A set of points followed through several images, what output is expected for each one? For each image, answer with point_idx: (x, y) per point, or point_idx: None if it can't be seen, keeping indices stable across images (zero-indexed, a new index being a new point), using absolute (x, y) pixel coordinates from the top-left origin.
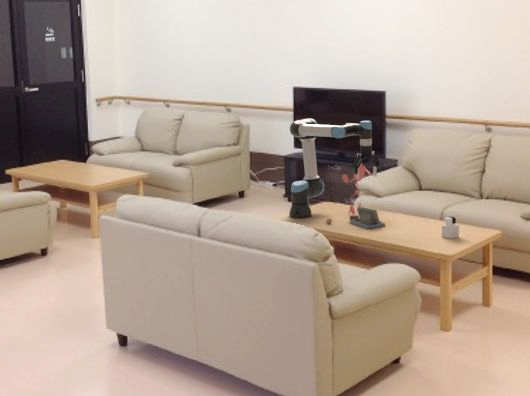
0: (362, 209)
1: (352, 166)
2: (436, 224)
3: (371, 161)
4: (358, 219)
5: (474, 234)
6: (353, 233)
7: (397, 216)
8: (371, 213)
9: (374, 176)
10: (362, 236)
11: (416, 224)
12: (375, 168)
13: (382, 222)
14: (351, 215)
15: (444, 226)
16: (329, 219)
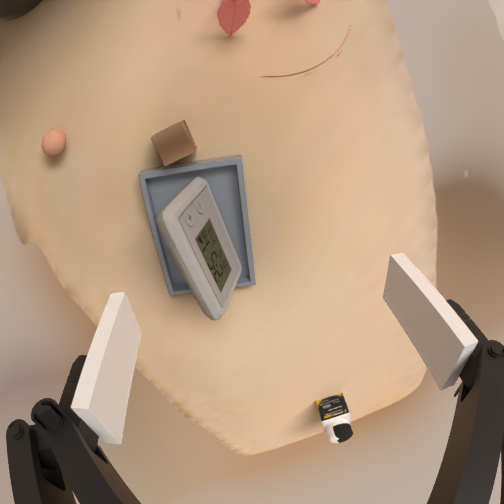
0: (173, 255)
1: (11, 444)
2: None
3: (458, 459)
4: (184, 171)
5: (378, 396)
6: None
7: (390, 163)
8: (215, 268)
9: (386, 279)
10: None
11: (359, 296)
12: (431, 371)
13: (251, 274)
14: (157, 141)
15: (322, 424)
16: (48, 153)
